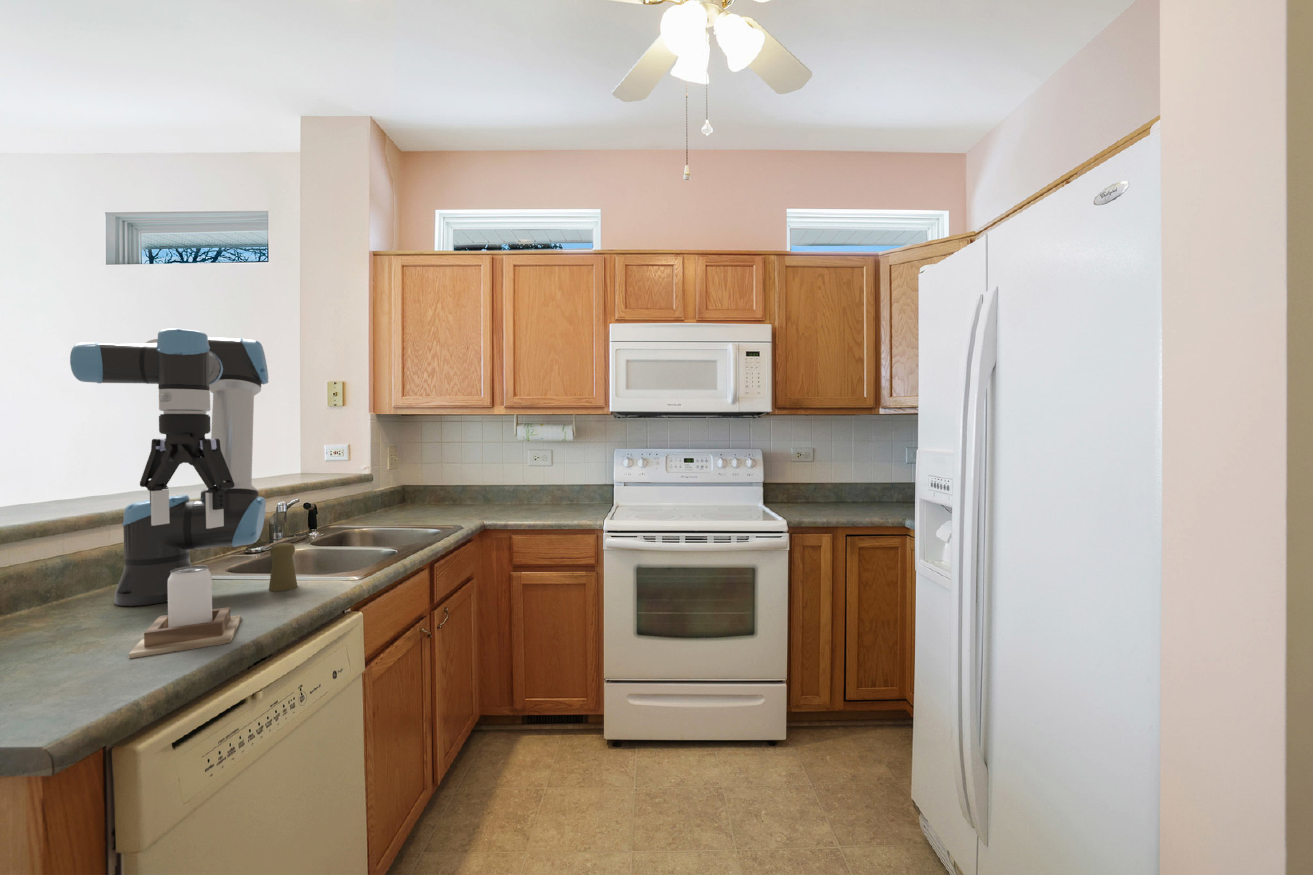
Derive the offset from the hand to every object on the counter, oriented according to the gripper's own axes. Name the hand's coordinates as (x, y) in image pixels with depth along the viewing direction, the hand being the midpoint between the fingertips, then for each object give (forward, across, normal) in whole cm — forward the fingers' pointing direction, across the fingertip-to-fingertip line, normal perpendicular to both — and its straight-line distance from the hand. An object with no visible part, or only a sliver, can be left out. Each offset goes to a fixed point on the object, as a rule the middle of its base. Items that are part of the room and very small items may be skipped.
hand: (187, 526), depth 110 cm
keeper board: (+21, +1, 0) cm, 21 cm away
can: (+20, +1, 0) cm, 20 cm away
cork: (+21, -13, +32) cm, 40 cm away
